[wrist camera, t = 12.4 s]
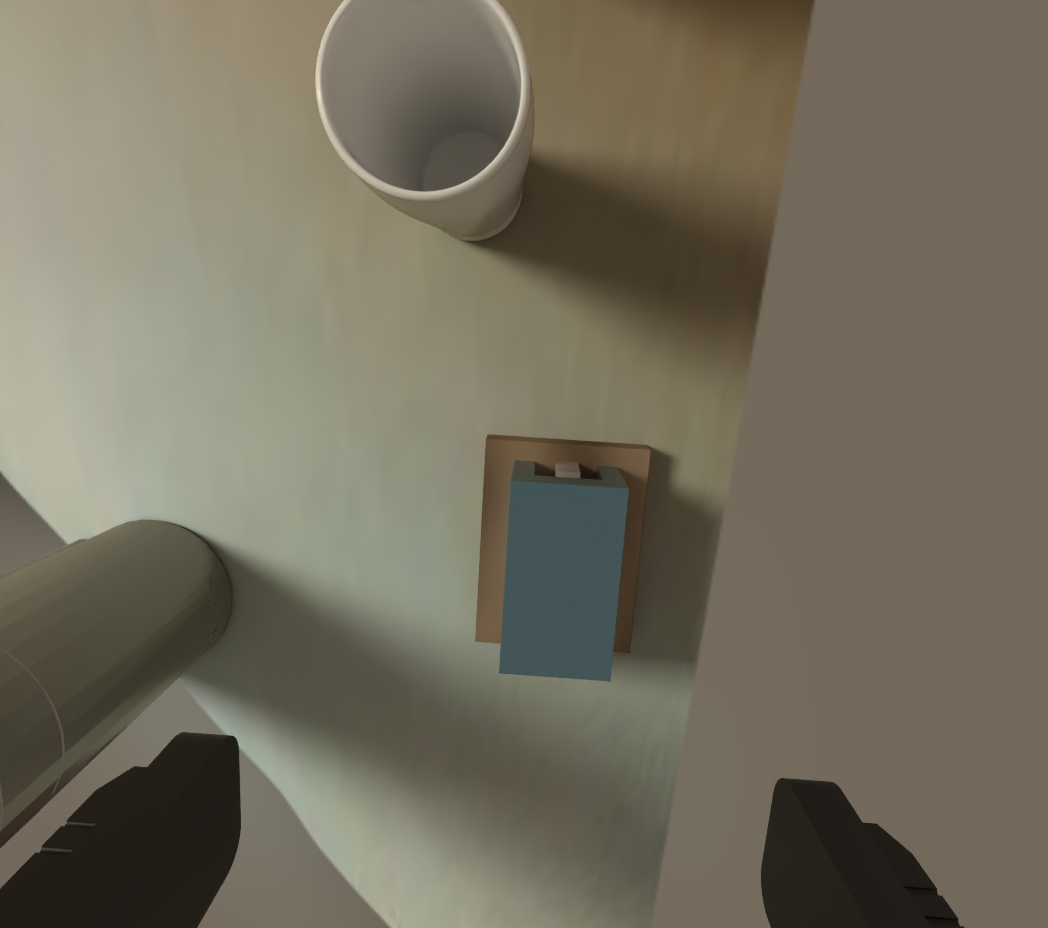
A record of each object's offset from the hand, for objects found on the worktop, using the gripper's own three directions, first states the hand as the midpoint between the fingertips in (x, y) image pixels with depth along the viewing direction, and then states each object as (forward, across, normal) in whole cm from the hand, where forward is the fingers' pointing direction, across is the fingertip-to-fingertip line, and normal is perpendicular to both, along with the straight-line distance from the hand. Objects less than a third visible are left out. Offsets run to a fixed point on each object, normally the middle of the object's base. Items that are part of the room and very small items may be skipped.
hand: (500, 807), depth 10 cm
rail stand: (+28, -2, +5) cm, 29 cm away
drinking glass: (+28, +4, -14) cm, 32 cm away
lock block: (+27, -2, +5) cm, 27 cm away
